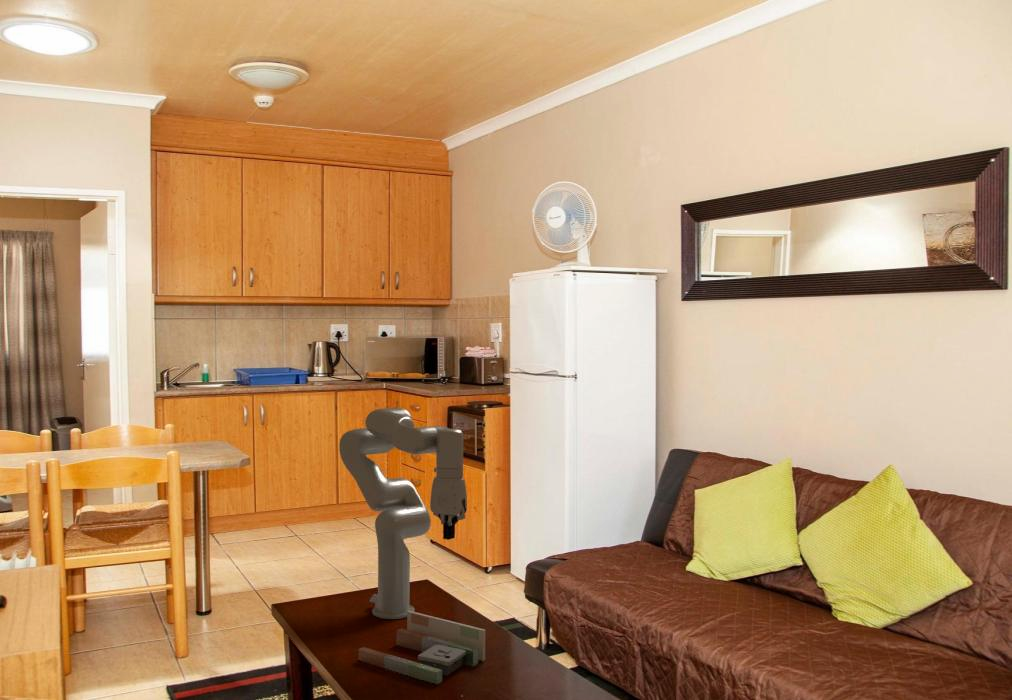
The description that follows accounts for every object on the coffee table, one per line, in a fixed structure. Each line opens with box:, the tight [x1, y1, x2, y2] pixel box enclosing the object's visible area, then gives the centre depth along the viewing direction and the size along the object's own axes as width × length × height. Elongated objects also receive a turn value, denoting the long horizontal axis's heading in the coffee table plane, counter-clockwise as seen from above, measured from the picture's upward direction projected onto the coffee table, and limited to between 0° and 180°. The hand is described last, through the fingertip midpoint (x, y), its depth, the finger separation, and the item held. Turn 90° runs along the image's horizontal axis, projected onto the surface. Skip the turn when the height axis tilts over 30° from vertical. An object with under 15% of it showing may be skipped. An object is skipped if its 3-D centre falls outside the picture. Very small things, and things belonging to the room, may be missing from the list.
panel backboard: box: [406, 611, 486, 662], centre depth 231 cm, size 26×1×8 cm, turn 55°
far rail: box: [395, 627, 479, 667], centre depth 228 cm, size 26×2×4 cm, turn 55°
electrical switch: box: [417, 645, 466, 676], centre depth 218 cm, size 9×5×9 cm
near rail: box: [357, 646, 443, 685], centre depth 216 cm, size 26×2×3 cm, turn 55°
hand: (448, 538), depth 243 cm, fingers closed
